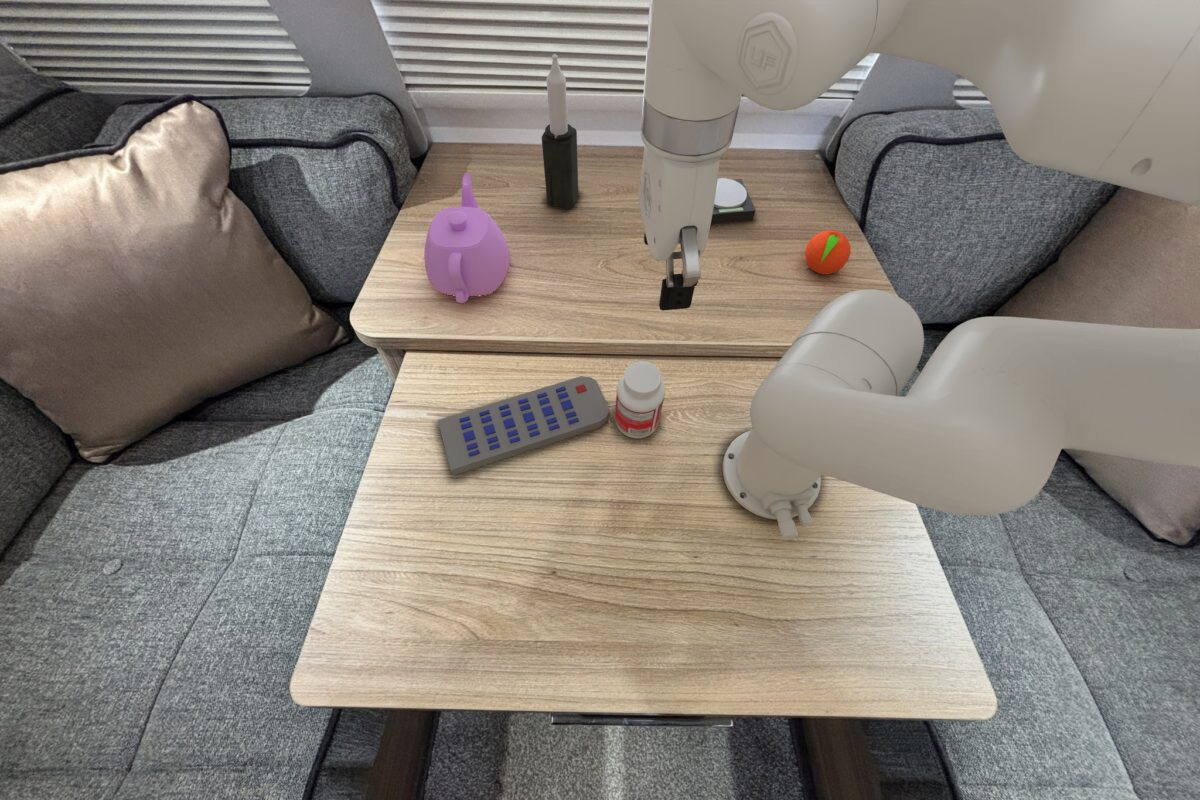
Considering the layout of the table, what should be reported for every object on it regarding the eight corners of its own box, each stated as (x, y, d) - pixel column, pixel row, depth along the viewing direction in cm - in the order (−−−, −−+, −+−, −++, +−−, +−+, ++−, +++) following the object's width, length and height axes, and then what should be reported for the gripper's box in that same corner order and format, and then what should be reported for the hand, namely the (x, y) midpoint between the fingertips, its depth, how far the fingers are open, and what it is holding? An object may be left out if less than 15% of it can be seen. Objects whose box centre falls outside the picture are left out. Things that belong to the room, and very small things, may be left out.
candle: (545, 204, 98) (532, 59, 77) (554, 187, 101) (544, 43, 79) (571, 210, 97) (565, 65, 76) (580, 193, 100) (576, 48, 79)
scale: (752, 220, 96) (756, 207, 94) (704, 224, 96) (707, 212, 93) (738, 188, 101) (742, 175, 99) (692, 192, 100) (695, 179, 98)
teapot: (507, 315, 84) (496, 259, 74) (423, 315, 84) (400, 259, 74) (516, 228, 95) (507, 169, 84) (441, 228, 94) (423, 169, 84)
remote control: (441, 426, 74) (437, 418, 72) (593, 379, 78) (593, 370, 76) (453, 476, 70) (449, 469, 68) (613, 423, 74) (613, 415, 72)
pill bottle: (638, 394, 77) (645, 347, 67) (667, 423, 74) (678, 379, 65) (605, 417, 75) (607, 373, 65) (634, 448, 72) (640, 406, 63)
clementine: (830, 292, 87) (848, 260, 81) (790, 276, 89) (805, 243, 83) (846, 263, 91) (864, 230, 85) (807, 248, 93) (822, 214, 87)
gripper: (627, 65, 47) (620, 222, 62) (661, 189, 38) (644, 339, 52) (710, 60, 47) (684, 217, 62) (763, 181, 38) (718, 332, 53)
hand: (665, 273), depth 57 cm, fingers open, 9 cm apart
